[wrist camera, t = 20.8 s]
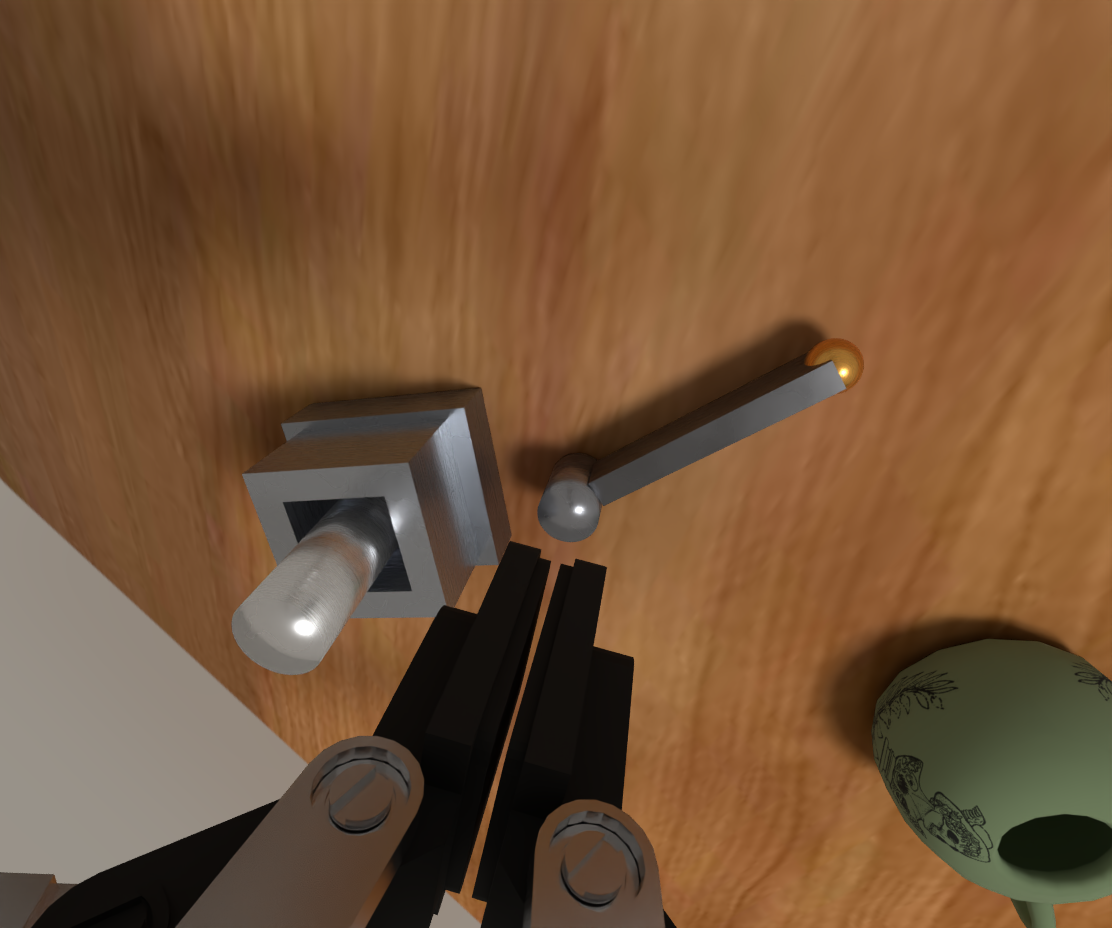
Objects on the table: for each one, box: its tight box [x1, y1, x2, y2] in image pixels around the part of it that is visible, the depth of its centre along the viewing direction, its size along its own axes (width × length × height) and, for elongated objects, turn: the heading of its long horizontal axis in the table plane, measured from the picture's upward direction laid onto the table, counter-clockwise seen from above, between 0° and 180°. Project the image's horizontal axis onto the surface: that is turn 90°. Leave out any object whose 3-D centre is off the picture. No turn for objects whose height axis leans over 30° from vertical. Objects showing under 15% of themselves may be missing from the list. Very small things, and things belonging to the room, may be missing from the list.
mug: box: [871, 639, 1112, 928], centre depth 33 cm, size 16×13×9 cm
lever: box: [538, 338, 864, 542], centre depth 30 cm, size 16×3×4 cm, turn 124°
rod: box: [232, 496, 399, 675], centre depth 28 cm, size 4×4×11 cm
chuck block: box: [242, 388, 512, 618], centre depth 32 cm, size 9×10×8 cm
